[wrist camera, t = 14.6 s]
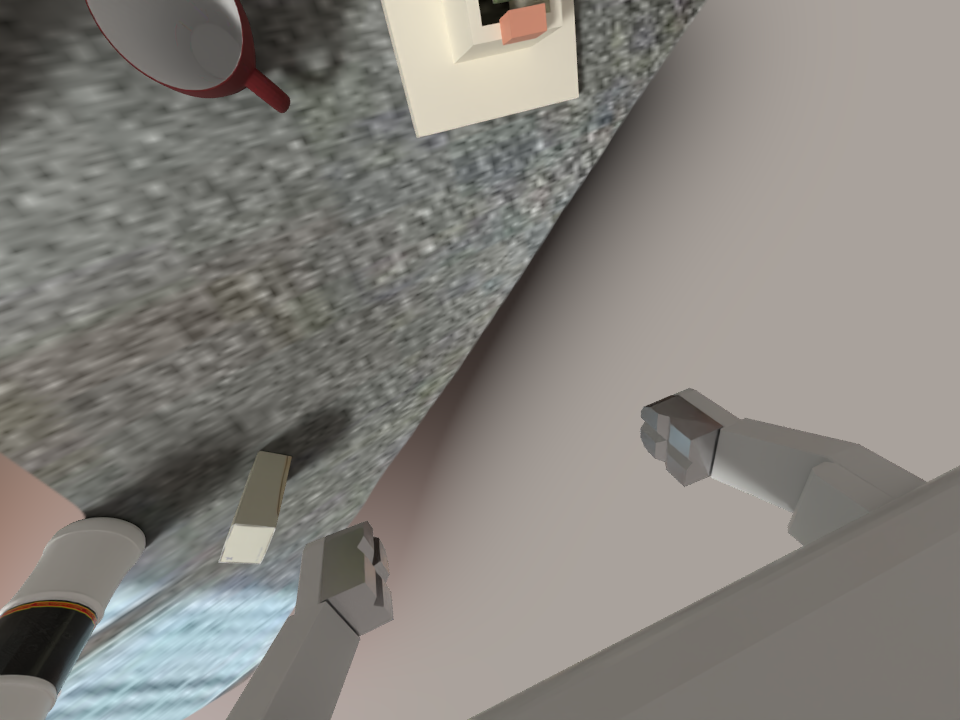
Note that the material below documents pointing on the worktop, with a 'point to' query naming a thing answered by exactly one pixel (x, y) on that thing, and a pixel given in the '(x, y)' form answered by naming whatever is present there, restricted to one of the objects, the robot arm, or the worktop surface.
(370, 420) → the worktop surface
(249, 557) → the skincare box
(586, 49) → the worktop surface
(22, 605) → the vodka
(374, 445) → the worktop surface
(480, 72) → the stand
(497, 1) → the column
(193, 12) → the mug
